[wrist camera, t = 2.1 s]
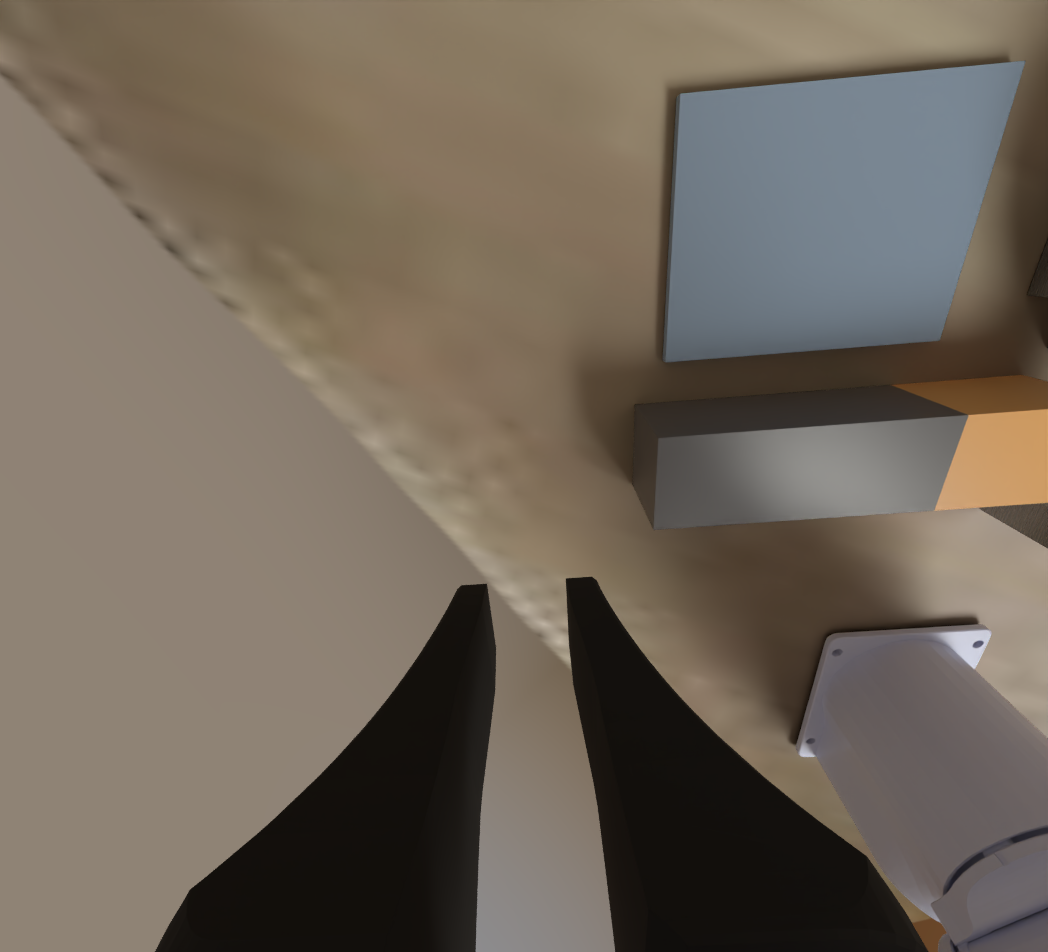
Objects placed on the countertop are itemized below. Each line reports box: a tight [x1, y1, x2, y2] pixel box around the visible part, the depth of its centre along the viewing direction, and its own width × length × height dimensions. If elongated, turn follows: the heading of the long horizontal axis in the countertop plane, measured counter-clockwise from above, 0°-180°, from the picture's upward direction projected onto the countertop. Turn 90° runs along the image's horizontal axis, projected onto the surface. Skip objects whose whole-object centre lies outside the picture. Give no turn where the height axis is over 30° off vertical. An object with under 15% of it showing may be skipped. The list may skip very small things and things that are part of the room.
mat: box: [663, 61, 1025, 362], centre depth 16 cm, size 8×10×1 cm
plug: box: [633, 375, 1048, 530], centre depth 18 cm, size 4×15×4 cm, turn 94°
